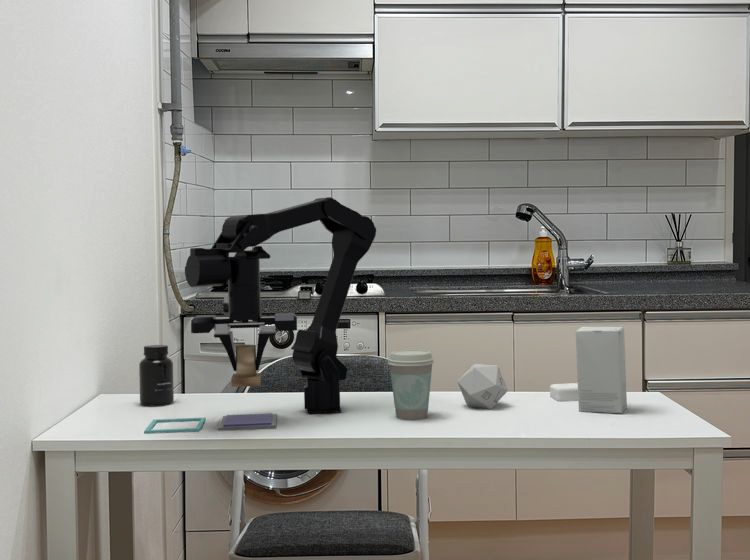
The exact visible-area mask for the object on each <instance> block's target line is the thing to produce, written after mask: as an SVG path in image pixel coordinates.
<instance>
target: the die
mask: <svg viewBox="0 0 750 560" xmlns="http://www.w3.org/2000/svg"><path fill="white" fill-rule="evenodd" d="M456 382H457V385H458V387H459V389H460V391H461V393H462V396H463V399H464V402H465V404H466V406H467V407H472V408H479V409H480V408H482V409H488V410H491V409H493V408H494V406H496V404H497V403H498V402H499V401H500V400H501V399H502V398H503V397H505V395H506V394H507V393H508V391H509V390H508V386H507V384H506V381H505V379H504V377H503V375H502V373H501V369H500V367H499V365H494V364H483V363H481V364H480V363H474V364H473V365H472V366H471V367H469V368H468V370H466V372H465V373H464V374H463V375H462V376H461V377H460V378H459V379H458V380H457V381H456Z"/></svg>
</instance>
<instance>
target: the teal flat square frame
mask: <svg viewBox="0 0 750 560" xmlns="http://www.w3.org/2000/svg"><path fill="white" fill-rule="evenodd" d="M206 419H207V418H206V417H187V418H186V417H184V418H181V417H180V418H162V419H161V418H159V419H158V418H157V419H152V421H151V422H150V423H149V425H148V426H147V427H146V428H145V429H144V431H143V433H144V434H156V433H155V432H166V433H183V432H184V433H185V432H186V433H187V432H189V433H190V432H201V430H202V429H203V426H204V424H205V422H206ZM171 421H180V422H198V423H197V425H196V427H189V428H187V427H185V428H165V429H153V428H154V427H155V426H156V425H155V424H158V423H172V422H171ZM154 425H155V426H154ZM151 429H152V430H151ZM153 432H154V433H153Z"/></svg>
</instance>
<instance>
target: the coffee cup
mask: <svg viewBox="0 0 750 560" xmlns="http://www.w3.org/2000/svg"><path fill="white" fill-rule="evenodd" d="M434 363H435V362H434V358H433V355H432V352H431V351H429V350H425V349H401V350H399V349H398V350H395V351H391V352H390V354H389V357H388V362H387V364H388V366H389V372H390V379H391V380H390V381H391V389H392V395H393V396H392V397H393V403H394V408H395V417H396V418H397V419H400V420H405V421H406V420H407V421H412V420H413V421H414V420H415V421H416V420H422V419H423V420H424V419H426V418H428V413H429V403H430V394H431V393H430V391H431V383H432V371H433V370H432V369H433V364H434Z"/></svg>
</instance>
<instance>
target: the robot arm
mask: <svg viewBox="0 0 750 560" xmlns="http://www.w3.org/2000/svg"><path fill="white" fill-rule="evenodd" d="M317 221H320V223H321V225H322V226H323V227H324V228H325V230H327V231H328V232H329V233H331V235H332V236H331V237H332V238H331V246H332V252H333V258H332V261H331V264H330V267H329V270H328V273H327V276H326V279H325V281H324V285H323V288H322V291H321V295H320V297H319V299H318V300H319V301H318V304H317V306H316V310H315V313H314V316H313V319H312V322H311V324H310V325H309V326H308V327H307V328H306V329H298V317H297V314H295V312H281V313H280V312H279V313H278V312H277V313H276V312H275V314H274V316H273V317H262V316H263V309H262V308H263V307H262V305H263V304H262V302H261V266H260V265H261V264H260V262H261V261H260V260H263V259H264V260H265V259H267V260H268V259H270V258H271V255H270V254H269V253H268V252H267V251H266V250H265V249H264V248H263V246H262V245H260V244H262V243H264V242H266V241H267V240H270V239H271V238H272V237H274V235H276V234H278V233H280V232H284V231H288V230H291V229H293V228H298V227H302V226H304V225H307V224H311V223H314V222H317ZM376 234H377V227H376V226H375V222H374V221H373V220H372V219H371V218H370V217H369V216H366V215H362V214H360V213H359V212H358V211H356V210H353V209H352V208H350V207H348V206H346V205H344V204H342V203H340V202H339V201H338V200H337V199H335V198H333V197H331V196H329V197H318V198H315V199H314V200H311V201H307V202H304V203H300V204H297V205H293V206H290V207H285V208H282V209H279V210H274V211H271V212H267V213H256V214H255V213H254V214H243V215H242V214H241V215H231V216H228V217H227V218H225V220H224V222H223V224H222V227H221V232H220V234H219V236H218V237H217V239H216V240H215V242H214V243H213V244H212V247H211V248H203V247H191V248H190V249H189V256H188V257H187V260H186V263H185V266H184V275H185V280H186V283H187V285H188V286H189V287H191V288H197V287H198V288H199V287H200V288H201V287H220V286H221V287H222V286H224V285H225V284H226V282H227V285H228V287H227V288H228V289H227V291H228V292H227V293H228V296H223V298H222V299H223V302H222V312H223V315H224V316H228V318H217V317H216V314H201V315H199V314H198V315H196V316H195V317H193V318H192V319H191V321H190V322H191V323H190V330H191V331H190V332H191V334H209V333H211V331H212V330H213V331H214V333H213V338H215V339H217V338H219V339H220V341H221V343H222V345H223V347H224V349H225V351H226V354H227V356H228V359H229V361H230V364H231V367H232V369H233V372H236V348H235V344H234V336H233V335H234V333H233V330H232V329H255V328H259V332H258V338H257V345H256V371H259V369H260V366H261V362H262V358H263V354H264V351H265V348H266V345H267V343H268V341H269V338H270V337H275V336H276V333H277V332H276V331H277V330H278V331H280V332H285V331H286V332H288V331H289V332H293V331H297V333H296V338H295V341H294V343H293V345H292V346H291V347H290V349H291V350H293V351H292V361H293V362H294V363H293V364H294V365H295V367H296V368H297V369H298V370H299V373H300V376H301V378H305V379H306V385H304V386H303V395H304V396H303V401H304V405H303V406H304V409H305V410H306V413H307V414H323V413H341V412H342V407H341V386H340V384H341V383H340V382H341V381H345V380H346V377H347V374H348V368H347V367H346V365H345V364H343V362H341V360H339V358H338V357H337V354H338V348H339V344H338V336H337V328H338V325H339V322H340V319H341V316H342V312H343V309H344V306H345V303H346V300H347V297H348V293H349V291H350V287H351V284H352V281H353V279H354V274H355V271H356V269H357V265H358V263H359V262H360V261H361V260H362V259H363V258H364V256H365V255H366V254H367V253H368V252H369V250H370V248H371V247H372V244H373V242H374V240H375V238H376ZM250 247H252V249H248V248H250ZM246 249H247V250H246ZM233 253H234V256H230V254H233ZM276 329H277V330H276Z"/></svg>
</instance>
